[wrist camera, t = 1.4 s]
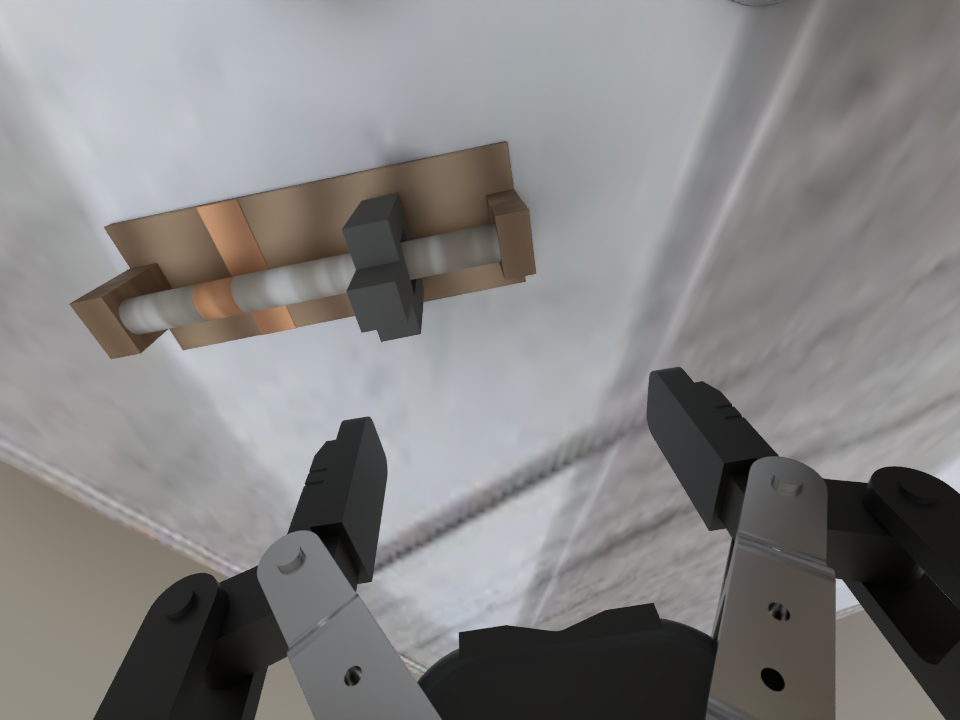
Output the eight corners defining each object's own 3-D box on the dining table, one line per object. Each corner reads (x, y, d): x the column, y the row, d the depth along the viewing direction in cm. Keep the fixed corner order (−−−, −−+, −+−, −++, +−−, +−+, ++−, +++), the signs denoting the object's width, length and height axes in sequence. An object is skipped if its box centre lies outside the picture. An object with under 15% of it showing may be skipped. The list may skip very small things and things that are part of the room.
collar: (398, 192, 29) (381, 235, 20) (424, 289, 33) (418, 359, 24) (361, 200, 29) (329, 246, 20) (391, 295, 33) (375, 368, 24)
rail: (505, 141, 30) (522, 153, 24) (524, 277, 35) (540, 315, 29) (111, 224, 30) (32, 256, 24) (187, 345, 36) (138, 395, 30)
